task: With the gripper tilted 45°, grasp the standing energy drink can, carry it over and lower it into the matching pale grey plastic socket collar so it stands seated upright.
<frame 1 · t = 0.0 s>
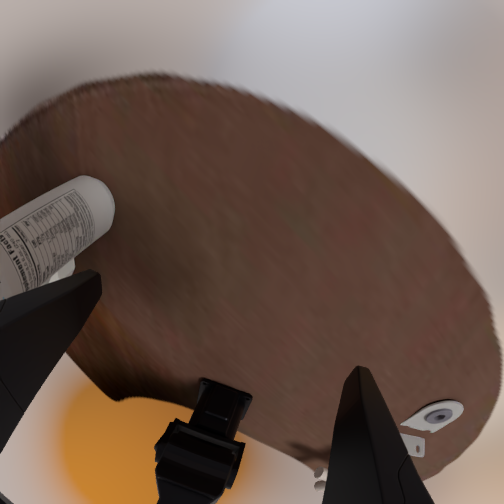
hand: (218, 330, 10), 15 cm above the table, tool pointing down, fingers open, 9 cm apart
pipe connector: (346, 451, 38), on the table
energy drink can: (96, 201, 27), on the table
bracket: (425, 418, 32), on the table
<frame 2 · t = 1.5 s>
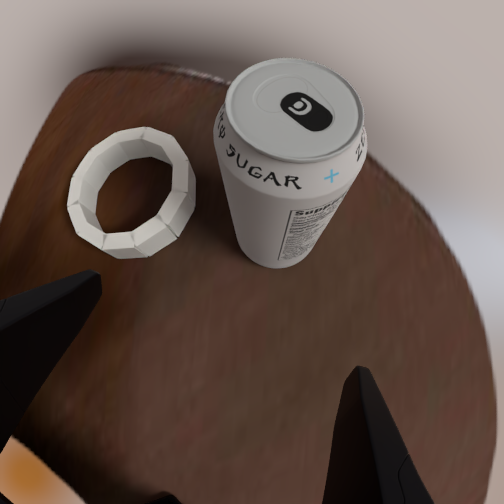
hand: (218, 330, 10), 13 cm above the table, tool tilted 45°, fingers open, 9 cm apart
socket collar: (136, 198, 25), on the table
energy drink can: (275, 232, 24), on the table
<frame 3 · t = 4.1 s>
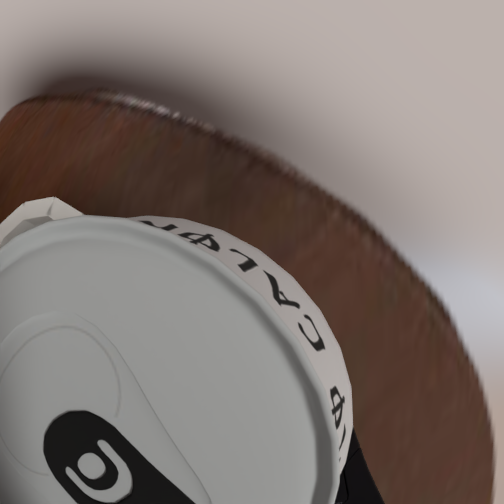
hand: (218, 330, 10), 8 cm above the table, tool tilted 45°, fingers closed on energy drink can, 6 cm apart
socket collar: (55, 289, 18), on the table
energy drink can: (228, 353, 17), on the table, touching gripper
when the fingers open (9 cm above the table, at t = 8.0 s): energy drink can drops 1 cm, resting in socket collar.
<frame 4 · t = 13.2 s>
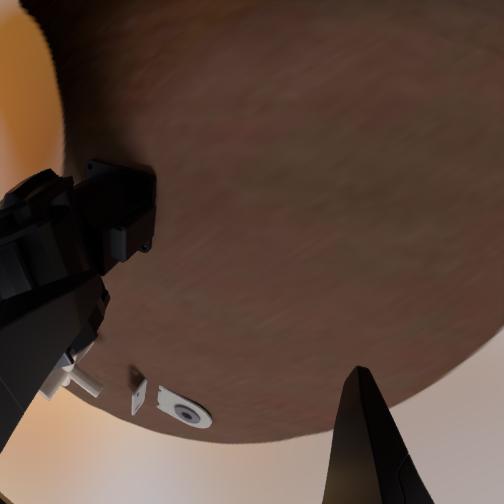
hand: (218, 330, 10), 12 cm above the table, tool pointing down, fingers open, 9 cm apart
pipe connector: (89, 337, 34), on the table
bracket: (174, 399, 37), on the table
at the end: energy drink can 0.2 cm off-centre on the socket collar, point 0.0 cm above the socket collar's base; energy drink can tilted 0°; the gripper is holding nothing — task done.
